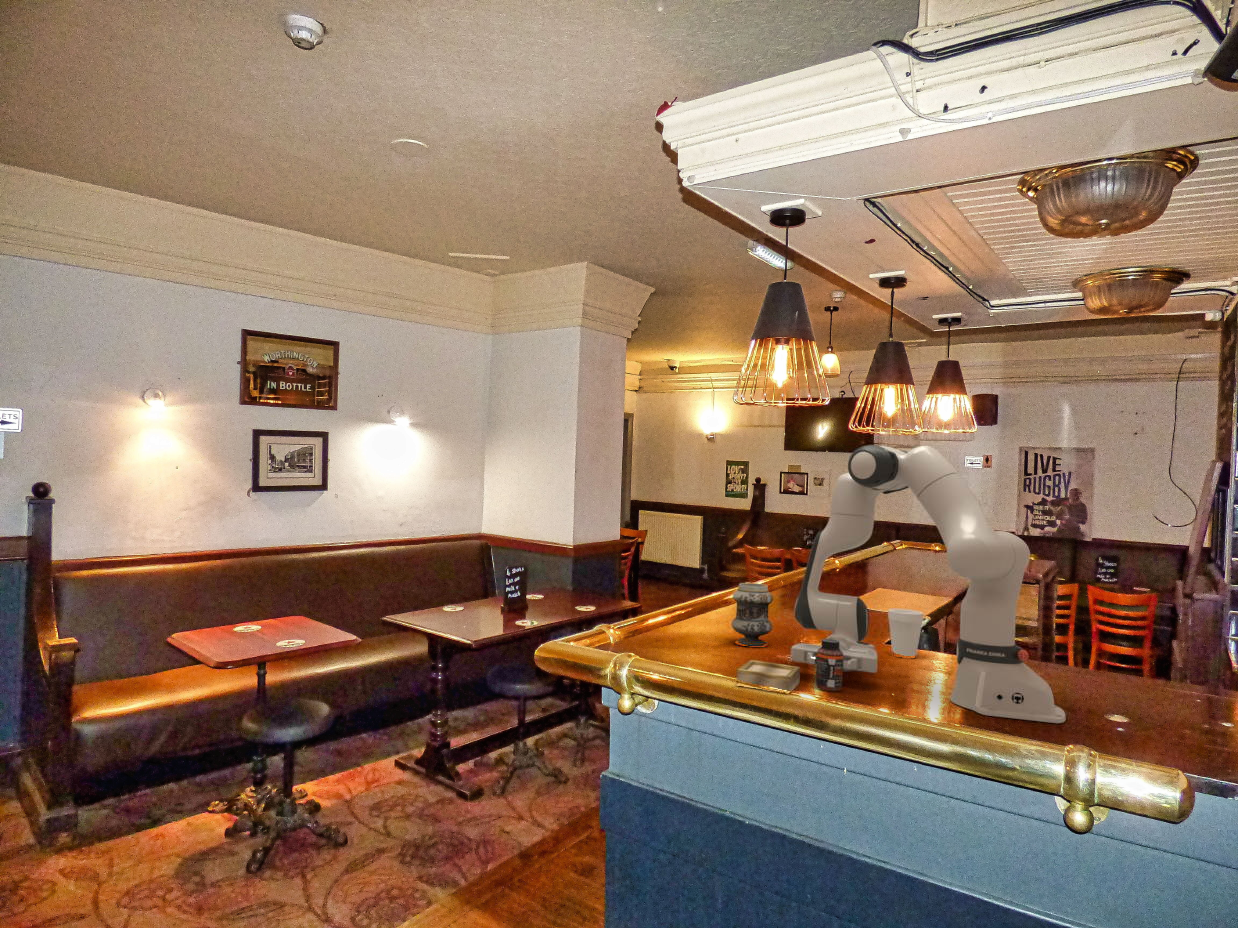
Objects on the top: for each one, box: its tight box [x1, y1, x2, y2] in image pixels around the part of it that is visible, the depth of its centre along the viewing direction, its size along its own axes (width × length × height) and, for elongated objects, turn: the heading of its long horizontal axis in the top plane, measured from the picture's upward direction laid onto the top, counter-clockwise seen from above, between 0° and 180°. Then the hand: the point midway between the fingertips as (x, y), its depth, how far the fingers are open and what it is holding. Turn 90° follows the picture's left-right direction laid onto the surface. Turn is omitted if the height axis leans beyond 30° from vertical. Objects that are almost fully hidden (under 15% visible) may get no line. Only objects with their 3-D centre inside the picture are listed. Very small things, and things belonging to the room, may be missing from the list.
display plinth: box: [736, 659, 801, 692], centre depth 173 cm, size 12×12×4 cm
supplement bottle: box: [815, 638, 843, 692], centre depth 172 cm, size 6×6×11 cm
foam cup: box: [887, 608, 924, 656], centre depth 213 cm, size 10×9×13 cm
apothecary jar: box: [731, 582, 774, 646], centre depth 219 cm, size 12×12×18 cm
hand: (829, 663), depth 171 cm, fingers open, 6 cm apart
